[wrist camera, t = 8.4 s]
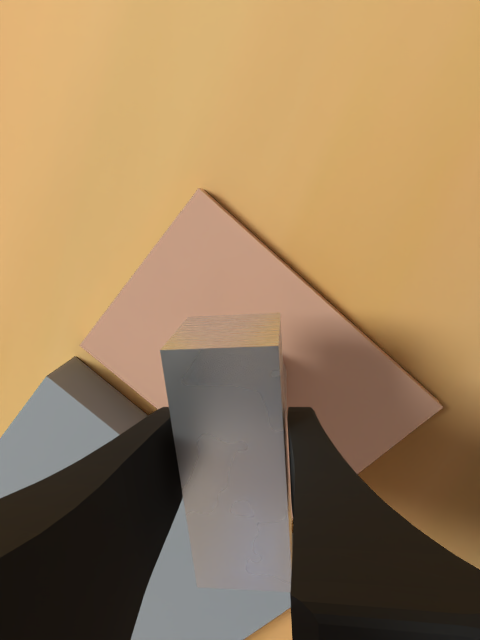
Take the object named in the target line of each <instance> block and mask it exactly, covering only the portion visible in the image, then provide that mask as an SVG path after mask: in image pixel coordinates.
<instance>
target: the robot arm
mask: <svg viewBox="0 0 480 640" xmlns="http://www.w3.org/2000/svg"><path fill="white" fill-rule="evenodd" d="M287 422H288V443H289V464H290V485H291V504H292V515H293V551H292V571H291V590H290V600H291V619H292V638H293V640H480V570H479V569H477V568H476V567H474V566H472V565H471V564H469V563H467V562H466V561H464V560H462V559H461V558H459V557H457V556H456V555H454V554H453V553H451V552H450V551H448V550H447V549H445V548H444V547H442V546H441V545H440V544H438V543H437V542H435V541H434V540H432V539H431V538H429V537H428V536H427V535H425V534H424V533H422V532H421V531H420V530H418V529H417V528H416V527H414V526H413V525H412V524H411V523H409V522H408V521H407V520H406V519H404V518H403V517H402V516H401V515H399V514H398V513H397V512H396V511H395V510H393V509H392V508H391V507H390V506H388V505H387V504H386V503H385V502H384V501H383V500H382V499H381V498H380V497H379V496H378V495H377V494H376V493H375V492H374V491H373V490H372V489H371V488H370V487H369V486H368V485H367V484H366V483H365V482H364V481H363V480H362V479H361V478H360V477H359V476H358V475H357V473H356V472H355V471H354V470H353V469H352V468H351V466H350V465H349V464H348V463H347V462H346V460H345V459H344V458H343V456H342V455H341V454H340V453H339V451H338V450H337V448H336V447H335V446H334V444H333V443H332V441H331V440H330V438H329V437H328V435H327V434H326V432H325V431H324V429H323V427H322V426H321V424H320V422H319V420H318V418H317V416H316V414H315V411H314V410H313V409H312V408H311V407H288V415H287ZM182 498H183V494H182V488H181V481H180V475H179V468H178V462H177V456H176V449H175V443H174V436H173V430H172V424H171V417H170V411H169V407H162V408H160V409H158V410H156V411H155V412H153V413H152V414H150V415H149V416H147V417H146V418H144V419H143V420H141V421H140V422H138V423H137V424H135V425H134V426H132V427H131V428H129V429H128V430H126V431H125V432H123V433H122V434H120V435H119V436H117V437H116V438H114V439H113V440H111V441H110V442H108V443H106V444H105V445H103V446H102V447H100V448H98V449H97V450H95V451H94V452H92V453H90V454H89V455H87V456H85V457H84V458H82V459H80V460H79V461H77V462H75V463H73V464H72V465H70V466H68V467H66V468H64V469H62V470H60V471H59V472H57V473H55V474H53V475H51V476H49V477H47V478H45V479H43V480H41V481H39V482H36V483H34V484H32V485H30V486H27V487H25V488H23V489H21V490H18V491H16V492H14V493H11V494H9V495H7V496H4V497H2V498H0V640H131V637H132V634H133V630H134V627H135V624H136V620H137V617H138V614H139V611H140V607H141V604H142V601H143V597H144V594H145V591H146V588H147V586H148V583H149V580H150V577H151V575H152V572H153V570H154V567H155V565H156V562H157V560H158V558H159V555H160V553H161V550H162V548H163V545H164V543H165V541H166V538H167V536H168V533H169V531H170V528H171V526H172V524H173V521H174V519H175V516H176V514H177V511H178V509H179V506H180V504H181V501H182Z"/></svg>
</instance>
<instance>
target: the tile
mask: <svg viewBox="0 0 480 640" xmlns="http://www.w3.org/2000/svg"><path fill="white" fill-rule="evenodd" d="M278 312H280V315H281V333H282V352H283V362H284V365H285V368H286V373H287V415H288V407H311V408H312V409H313V410H314V411H315V414H316V416H317V418H318V420H319V422H320V424H321V426H322V427H323V429H324V431H325V432H326V434H327V435H328V437H329V438H330V440H331V441H332V443H333V444H334V446H335V447H336V448H337V450H338V451H339V453H340V454H341V455H342V456H343V458H344V459H345V460H346V462H347V463H348V464H349V465H350V466H351V468H352V469H353V470H354V471H355V472H356V473H357V474H358V473H360V472H361V471H362V470H364V469H365V468H366V467H367V466H369V465H370V464H371V463H373V462H374V461H375V460H376V459H378V458H379V457H380V456H382V455H383V454H384V453H385V452H387V451H388V450H389V449H391V448H392V447H393V446H394V445H396V444H397V443H398V442H399V441H401V440H402V439H403V438H405V437H406V436H407V435H408V434H410V433H411V432H412V431H414V430H415V429H416V428H417V427H419V426H420V425H421V424H423V423H424V422H425V421H426V420H428V419H429V418H430V417H432V416H433V415H434V414H435V413H437V412H438V411H439V410H441V409H442V408H443V406H442V405H441V404H440V402H439V401H438V400H437V399H436V398H435V397H434V396H433V395H432V394H431V393H430V392H429V391H427V390H426V389H425V388H424V387H423V386H422V385H421V384H420V383H418V382H417V381H416V380H415V379H414V378H413V377H412V376H411V375H410V374H408V373H407V372H406V371H405V370H404V369H403V368H402V367H401V366H400V365H398V364H397V363H396V362H395V361H394V360H393V359H392V358H391V357H389V356H388V355H387V354H386V353H385V352H384V351H383V350H382V349H381V348H379V347H378V346H377V345H376V344H375V343H374V342H373V341H372V340H371V339H369V338H368V337H367V336H366V335H365V334H364V333H363V332H362V331H361V330H359V329H358V328H357V327H356V326H355V325H354V324H353V323H352V322H350V321H349V320H348V319H347V318H346V317H345V316H344V315H343V314H342V313H340V312H339V311H338V310H337V309H336V308H335V307H334V306H333V305H332V304H330V303H329V302H328V301H327V300H326V299H325V298H324V297H323V296H322V295H320V294H319V293H318V292H317V291H316V290H315V289H314V288H313V287H311V286H310V285H309V284H308V283H307V282H306V281H305V280H304V279H303V278H301V277H300V276H299V275H298V274H297V273H296V272H295V271H294V270H293V269H291V268H290V267H289V266H288V265H287V264H286V263H285V262H284V261H283V260H281V259H280V258H279V257H278V256H277V255H276V254H275V253H274V252H272V251H271V250H270V249H269V248H268V247H267V246H266V245H265V244H264V243H262V242H261V241H260V240H259V239H258V238H257V237H256V236H255V235H254V234H252V233H251V232H250V231H249V230H248V229H247V228H246V227H245V226H244V225H242V224H241V223H240V222H239V221H238V220H237V219H236V218H235V217H233V216H232V215H231V214H230V213H229V212H228V211H227V210H226V209H225V208H223V207H222V206H221V205H220V204H219V203H218V202H217V201H216V200H215V199H213V198H212V197H211V196H210V195H209V194H208V193H207V192H206V191H204V190H203V189H201V188H198V189H197V191H196V192H195V193H194V195H193V196H192V197H191V199H190V200H189V201H188V203H187V204H186V205H185V207H184V208H183V209H182V211H181V212H180V213H179V215H178V216H177V217H176V219H175V220H174V221H173V223H172V224H171V225H170V227H169V228H168V229H167V230H166V232H165V233H164V234H163V236H162V237H161V238H160V240H159V241H158V242H157V244H156V245H155V246H154V248H153V249H152V250H151V252H150V253H149V254H148V256H147V257H146V258H145V260H144V261H143V262H142V264H141V265H140V266H139V268H138V269H137V270H136V271H135V273H134V274H133V275H132V277H131V278H130V279H129V281H128V282H127V283H126V285H125V286H124V287H123V289H122V290H121V291H120V293H119V294H118V295H117V297H116V298H115V299H114V301H113V302H112V303H111V305H110V306H109V307H108V309H107V310H106V311H105V313H104V314H103V315H102V316H101V318H100V319H99V320H98V322H97V323H96V324H95V326H94V327H93V328H92V330H91V331H90V332H89V334H88V335H87V336H86V338H85V339H84V340H83V342H82V343H81V344H80V346H81V347H82V348H83V349H84V350H86V351H87V352H88V353H89V354H91V355H92V356H93V357H94V358H95V359H97V360H98V361H99V362H100V363H102V364H103V365H104V366H105V367H106V368H108V369H109V370H110V371H111V372H113V373H114V374H115V375H116V376H117V377H119V378H120V379H121V380H122V381H124V382H125V383H126V384H127V385H128V386H130V387H131V388H132V389H133V390H135V391H136V392H137V393H138V394H140V395H141V396H142V397H143V398H144V399H146V400H147V401H148V402H149V403H151V404H152V405H153V406H154V407H155V408H157V409H160V408H162V407H169V405H168V398H167V392H166V385H165V379H164V373H163V366H162V360H161V354H160V349H161V348H162V347H163V346H164V345H165V344H166V342H167V341H168V340H169V339H170V338H171V336H172V335H173V334H174V333H175V332H176V330H177V329H178V328H179V327H180V326H181V324H182V323H183V322H184V321H185V320H186V319H187V317H195V316H216V315H236V314H257V313H278ZM287 442H288V422H287ZM288 460H289V443H288ZM289 478H290V464H289ZM290 496H291V485H290ZM291 514H292V504H291ZM292 520H293V515H292Z"/></svg>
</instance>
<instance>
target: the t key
mask: <svg viewBox="0 0 480 640" xmlns="http://www.w3.org/2000/svg"><path fill="white" fill-rule="evenodd" d="M160 354H161V360H162V366H163V373H164V379H165V385H166V392H167V398H168V405H169V411H170V417H171V424H172V430H173V436H174V443H175V449H176V456H177V462H178V468H179V475H180V481H181V488H182V494H183V500H184V507H185V513H186V519H187V526H188V532H189V539H190V545H191V551H192V558H193V564H194V570H195V577H196V583H197V587H199V588H219V589H238V590H257V591H276V592H290V590H291V571H292V514H291V496H290V478H289V460H288V442H287V373H286V368H285V365H284V362H283V352H282V333H281V315H280V312H278V313H257V314H236V315H216V316H195V317H187V319H186V320H185V321H184V322H183V323H182V324H181V326H180V327H179V328H178V329H177V330H176V332H175V333H174V334H173V335H172V336H171V338H170V339H169V340H168V341H167V342H166V344H165V345H164V346H163V347H162V348H161V349H160Z"/></svg>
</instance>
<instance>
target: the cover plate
mask: <svg viewBox="0 0 480 640" xmlns="http://www.w3.org/2000/svg"><path fill="white" fill-rule="evenodd" d="M147 416H148V415H147V414H146V413H144V412H143V411H142V410H141V409H139V408H138V407H137V406H136V405H134V404H133V403H132V402H131V401H130V400H128V399H127V398H126V397H125V396H123V395H122V394H121V393H120V392H118V391H117V390H116V389H115V388H114V387H112V386H111V385H110V384H109V383H107V382H106V381H105V380H104V379H102V378H101V377H100V376H99V375H98V374H96V373H95V372H94V371H93V370H91V369H90V368H89V367H88V366H86V365H85V364H84V363H83V362H82V361H80V360H79V359H78V358H77V357H73V358H72V359H71V360H69V361H68V362H66V363H65V364H63V365H62V366H60V367H59V368H58V369H56V370H55V371H53V372H52V373H50V374H49V375H47V376H46V378H45V379H44V380H43V382H42V383H41V384H40V386H39V387H38V388H37V390H36V391H35V392H34V394H33V395H32V396H31V398H30V399H29V400H28V402H27V403H26V404H25V406H24V407H23V408H22V410H21V411H20V412H19V414H18V415H17V417H16V418H15V419H14V421H13V422H12V423H11V425H10V426H9V427H8V429H7V430H6V431H5V433H4V434H3V435H2V437H1V438H0V498H2V497H4V496H7V495H9V494H11V493H14V492H16V491H18V490H21V489H23V488H25V487H27V486H30V485H32V484H34V483H36V482H39V481H41V480H43V479H45V478H47V477H49V476H51V475H53V474H55V473H57V472H59V471H60V470H62V469H64V468H66V467H68V466H70V465H72V464H73V463H75V462H77V461H79V460H80V459H82V458H84V457H85V456H87V455H89V454H90V453H92V452H94V451H95V450H97V449H98V448H100V447H102V446H103V445H105V444H106V443H108V442H110V441H111V440H113V439H114V438H116V437H117V436H119V435H120V434H122V433H123V432H125V431H126V430H128V429H129V428H131V427H132V426H134V425H135V424H137V423H138V422H140V421H141V420H143V419H144V418H146V417H147ZM292 551H293V533H292ZM290 607H291V600H290V592H276V591H257V590H238V589H219V588H199V587H197V583H196V577H195V570H194V564H193V558H192V551H191V545H190V539H189V532H188V526H187V519H186V513H185V507H184V500H183V498H182V501H181V504H180V506H179V509H178V511H177V514H176V516H175V519H174V521H173V524H172V526H171V528H170V531H169V533H168V536H167V538H166V541H165V543H164V545H163V548H162V550H161V553H160V555H159V558H158V560H157V562H156V565H155V567H154V570H153V572H152V575H151V577H150V580H149V583H148V586H147V588H146V591H145V594H144V597H143V601H142V604H141V607H140V611H139V614H138V617H137V620H136V624H135V627H134V630H133V634H132V637H131V640H243V639H245V638H246V637H248V636H249V635H251V634H252V633H254V632H255V631H257V630H258V629H260V628H261V627H263V626H264V625H265V624H267V623H268V622H270V621H271V620H273V619H274V618H276V617H277V616H279V615H280V614H282V613H283V612H284V611H286V610H287V609H289V608H290Z"/></svg>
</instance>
